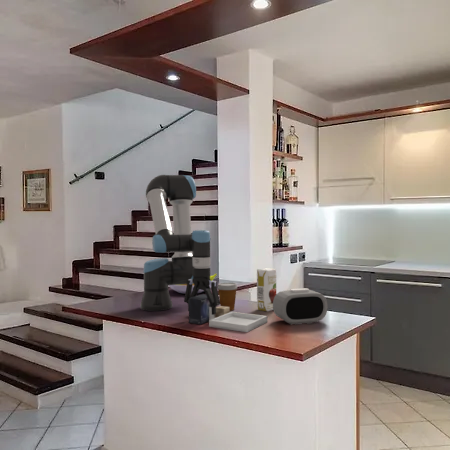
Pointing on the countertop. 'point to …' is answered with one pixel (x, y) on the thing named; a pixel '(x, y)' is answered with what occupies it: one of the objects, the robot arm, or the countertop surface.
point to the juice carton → (266, 288)
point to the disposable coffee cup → (227, 294)
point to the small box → (199, 309)
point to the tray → (238, 321)
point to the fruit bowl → (183, 287)
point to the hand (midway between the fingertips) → (201, 320)
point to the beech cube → (221, 311)
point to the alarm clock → (300, 306)
